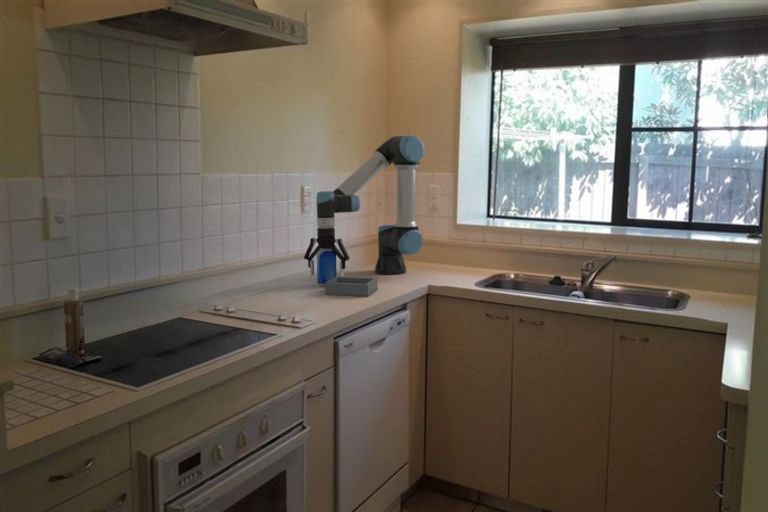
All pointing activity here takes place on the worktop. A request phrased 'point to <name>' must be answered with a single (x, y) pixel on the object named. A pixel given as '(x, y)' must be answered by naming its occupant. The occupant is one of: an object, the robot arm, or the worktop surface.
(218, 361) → the worktop surface
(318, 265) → the beer can
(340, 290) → the caddy
